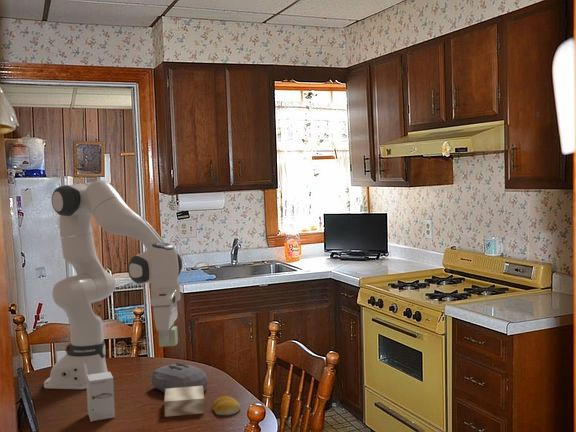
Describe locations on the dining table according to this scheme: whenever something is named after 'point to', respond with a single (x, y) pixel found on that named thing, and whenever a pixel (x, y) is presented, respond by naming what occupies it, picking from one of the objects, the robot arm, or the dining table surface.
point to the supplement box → (100, 396)
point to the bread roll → (226, 406)
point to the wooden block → (184, 401)
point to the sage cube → (173, 337)
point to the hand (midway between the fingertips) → (168, 339)
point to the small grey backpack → (178, 377)
